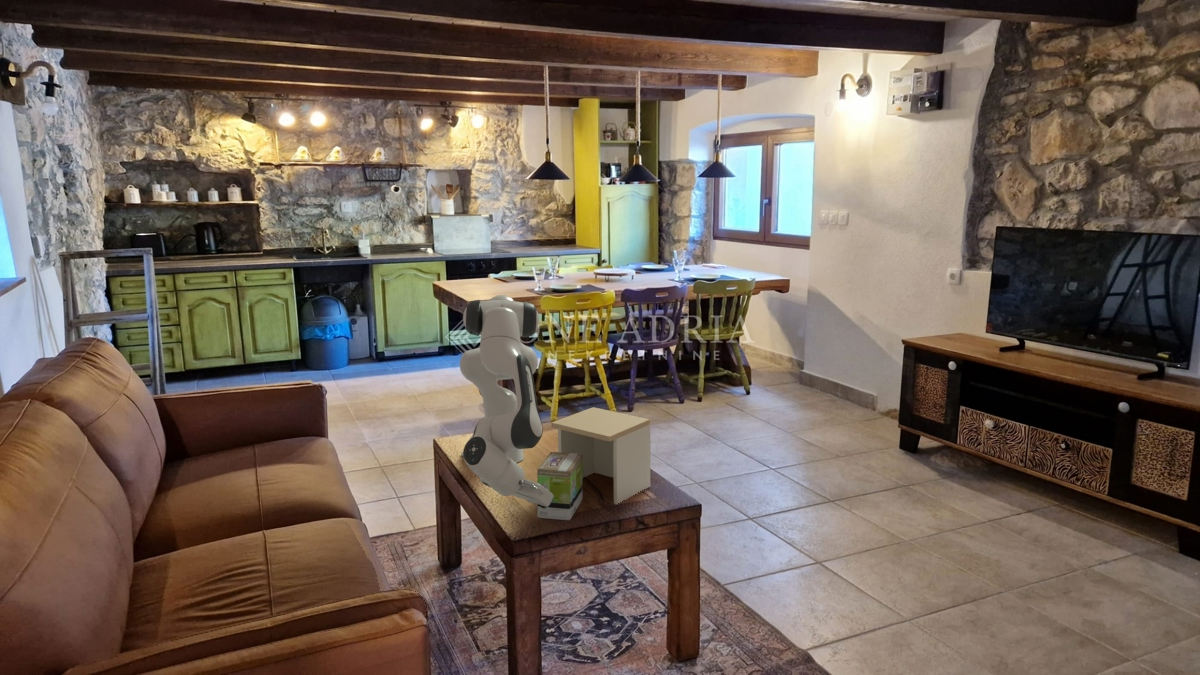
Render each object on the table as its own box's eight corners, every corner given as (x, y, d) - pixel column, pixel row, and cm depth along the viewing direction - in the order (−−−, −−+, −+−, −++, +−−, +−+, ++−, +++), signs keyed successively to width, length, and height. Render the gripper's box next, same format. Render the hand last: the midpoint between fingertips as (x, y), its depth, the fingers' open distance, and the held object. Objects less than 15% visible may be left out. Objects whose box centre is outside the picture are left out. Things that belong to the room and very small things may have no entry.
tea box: (571, 521, 210) (570, 470, 208) (536, 518, 212) (535, 468, 210) (583, 499, 225) (582, 452, 222) (550, 497, 227) (549, 450, 224)
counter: (552, 489, 232) (551, 422, 228) (593, 470, 248) (592, 407, 244) (610, 508, 219) (610, 436, 214) (650, 486, 234) (650, 419, 230)
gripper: (542, 476, 195) (567, 499, 204) (486, 459, 207) (513, 482, 216) (530, 498, 192) (557, 520, 201) (475, 479, 204) (502, 501, 214)
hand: (533, 500), depth 209 cm, fingers closed
